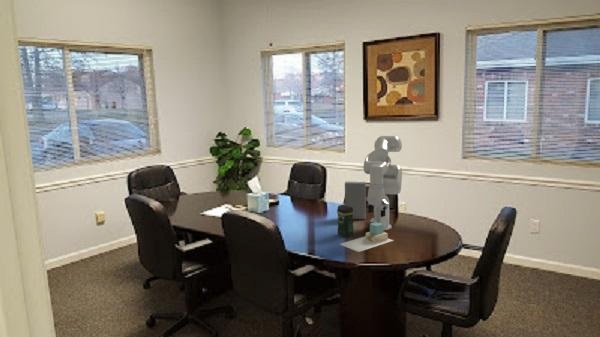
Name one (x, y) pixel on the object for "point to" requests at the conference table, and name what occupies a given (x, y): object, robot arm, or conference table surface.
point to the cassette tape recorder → (356, 198)
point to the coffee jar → (345, 221)
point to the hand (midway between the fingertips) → (376, 214)
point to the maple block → (376, 237)
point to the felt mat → (362, 244)
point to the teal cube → (376, 228)
